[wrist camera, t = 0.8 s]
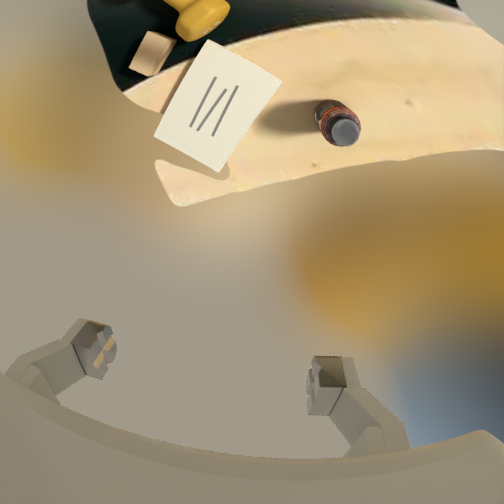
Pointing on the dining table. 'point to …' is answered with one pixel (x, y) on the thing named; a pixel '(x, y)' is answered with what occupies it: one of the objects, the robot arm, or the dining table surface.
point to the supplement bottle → (337, 123)
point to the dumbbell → (198, 16)
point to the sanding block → (152, 53)
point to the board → (215, 105)
